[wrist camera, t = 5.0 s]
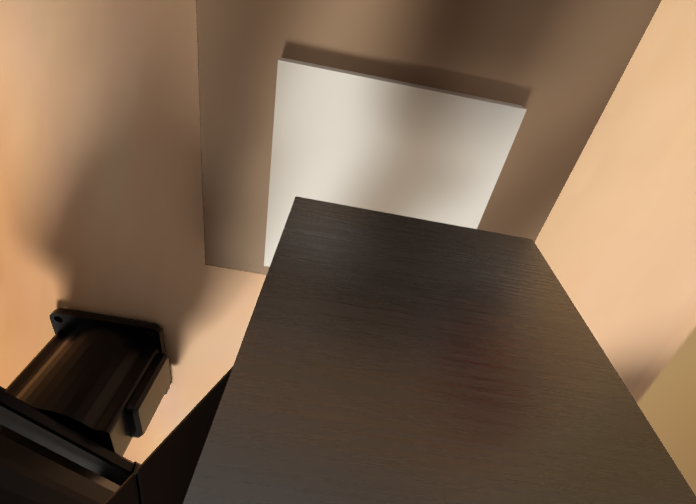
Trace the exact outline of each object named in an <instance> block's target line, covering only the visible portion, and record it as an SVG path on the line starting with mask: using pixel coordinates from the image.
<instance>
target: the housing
mask: <svg viewBox="0 0 696 504" xmlns="http://www.w3.org/2000/svg"><path fill="white" fill-rule="evenodd" d="M183 504H696V496H695V494H694V493H693V491H692V490H691V488H690V487H689V485H688V483H687V482H686V480H685V479H684V477H683V475H682V474H681V472H680V471H679V469H678V468H677V466H676V464H675V463H674V461H673V460H672V458H671V457H670V455H669V453H668V452H667V450H666V449H665V447H664V446H663V444H662V442H661V441H660V439H659V438H658V437H657V435H656V434H655V432H654V430H653V428H652V427H651V425H650V424H649V422H648V421H647V419H646V418H645V416H644V414H643V413H642V411H641V410H640V408H639V407H638V405H637V403H636V402H635V400H634V398H633V397H632V395H631V394H630V392H629V391H628V389H627V387H626V386H625V384H624V383H623V381H622V380H621V378H620V376H619V375H618V373H617V372H616V370H615V369H614V367H613V366H612V364H611V362H610V361H609V359H608V358H607V356H606V355H605V353H604V351H603V350H602V348H601V347H600V345H599V344H598V342H597V340H596V339H595V337H594V336H593V334H592V333H591V331H590V329H589V328H588V326H587V325H586V323H585V322H584V320H583V318H582V317H581V315H580V314H579V312H578V311H577V309H576V307H575V306H574V304H573V303H572V301H571V300H570V298H569V296H568V295H567V293H566V292H565V290H564V289H563V287H562V285H561V284H560V282H559V281H558V279H557V278H556V276H555V274H554V273H553V271H552V270H551V268H550V267H549V265H548V263H547V262H546V260H545V259H544V257H543V256H542V254H541V252H540V251H539V249H538V248H537V246H536V245H535V243H534V241H533V240H532V239H528V238H522V237H517V236H511V235H506V234H500V233H495V232H489V231H484V230H478V229H473V228H467V227H462V226H456V225H451V224H445V223H440V222H434V221H429V220H423V219H418V218H412V217H407V216H402V215H396V214H391V213H385V212H380V211H374V210H369V209H363V208H358V207H352V206H347V205H341V204H336V203H330V202H325V201H319V200H314V199H308V198H303V197H297V196H296V197H295V199H294V202H293V205H292V208H291V210H290V213H289V216H288V218H287V221H286V224H285V227H284V229H283V232H282V235H281V238H280V240H279V243H278V246H277V248H276V251H275V254H274V257H273V259H272V262H271V265H270V267H269V270H268V273H267V276H266V278H265V281H264V284H263V287H262V289H261V292H260V295H259V297H258V300H257V303H256V306H255V308H254V311H253V314H252V317H251V319H250V322H249V325H248V327H247V330H246V333H245V336H244V338H243V341H242V344H241V347H240V349H239V352H238V355H237V357H236V360H235V363H234V366H233V368H232V371H231V374H230V377H229V379H228V382H227V385H226V387H225V390H224V393H223V396H222V398H221V401H220V404H219V406H218V409H217V412H216V415H215V417H214V420H213V423H212V426H211V428H210V431H209V434H208V436H207V439H206V442H205V445H204V447H203V450H202V453H201V456H200V458H199V461H198V464H197V466H196V469H195V472H194V475H193V477H192V480H191V483H190V486H189V488H188V491H187V494H186V496H185V499H184V502H183Z"/></svg>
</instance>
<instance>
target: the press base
mask: <svg viewBox="0 0 696 504" xmlns="http://www.w3.org/2000/svg"><path fill="white" fill-rule="evenodd" d="M660 2H661V0H196V13H197V41H198V70H199V98H200V127H201V155H202V184H203V212H204V241H205V265H211V266H217V267H223V268H229V269H235V270H241V271H247V272H252V273H258V274H264V275H267V273H268V270H269V267H270V265H271V262H272V259H273V257H274V254H275V251H276V248H277V246H278V243H279V240H280V238H281V235H282V232H283V229H284V227H285V224H286V221H287V218H288V216H289V213H290V210H291V208H292V205H293V202H294V199H295V197H296V196H297V197H303V198H308V199H314V200H319V201H325V202H330V203H336V204H341V205H347V206H352V207H358V208H363V209H369V210H374V211H380V212H385V213H391V214H396V215H402V216H407V217H412V218H418V219H423V220H429V221H434V222H440V223H445V224H451V225H456V226H462V227H467V228H473V229H478V230H484V231H489V232H495V233H500V234H506V235H511V236H517V237H522V238H528V239H532V240H533V241H534V242H535V240H536V238H537V236H538V234H539V232H540V231H541V229H542V227H543V225H544V223H545V221H546V219H547V217H548V215H549V213H550V212H551V210H552V208H553V206H554V204H555V202H556V200H557V198H558V196H559V194H560V193H561V191H562V189H563V187H564V185H565V183H566V181H567V179H568V177H569V175H570V173H571V172H572V170H573V168H574V166H575V164H576V162H577V160H578V158H579V156H580V154H581V153H582V151H583V149H584V147H585V145H586V143H587V141H588V139H589V137H590V135H591V134H592V132H593V130H594V128H595V126H596V124H597V122H598V120H599V118H600V116H601V114H602V113H603V111H604V109H605V107H606V105H607V103H608V101H609V99H610V97H611V95H612V94H613V92H614V90H615V88H616V86H617V84H618V82H619V80H620V78H621V76H622V74H623V73H624V71H625V69H626V67H627V65H628V63H629V61H630V59H631V57H632V55H633V54H634V52H635V50H636V48H637V46H638V44H639V42H640V40H641V38H642V36H643V35H644V33H645V31H646V29H647V27H648V25H649V23H650V21H651V19H652V17H653V15H654V14H655V12H656V10H657V8H658V6H659V4H660Z"/></svg>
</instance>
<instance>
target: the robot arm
mask: <svg viewBox="0 0 696 504" xmlns="http://www.w3.org/2000/svg"><path fill="white" fill-rule="evenodd" d="M50 320H51V323H52V326H53V329H54V332H55V336H54V337H53V338H52V339H51V340H50V341H49V342H48V343H47V344H46V346H45V347H44V348H43V349H42V350H41V351H40V352H39V353H38V354H37V355H36V357H35V358H34V359H33V360H32V361H31V362H30V363H29V364H28V365H27V366H26V368H25V369H24V370H23V371H22V372H21V373H20V374H19V375H18V376H17V377H16V378H15V380H14V381H13V382H12V383H11V384H10V385H9V386H8V387H7V388H6V389H5V388H3V387H1V386H0V504H183V502H184V499H185V496H186V494H187V491H188V488H189V486H190V483H191V480H192V477H193V475H194V472H195V469H196V466H197V464H198V461H199V458H200V456H201V453H202V450H203V447H204V445H205V442H206V439H207V436H208V434H209V431H210V428H211V426H212V423H213V420H214V417H215V415H216V412H217V409H218V406H219V404H220V401H221V398H222V396H223V393H224V390H225V387H226V385H227V382H228V379H229V377H230V374H231V371H232V368H233V367H232V368H231V369H230V370H229V371H228V372H227V373H226V374H225V375H224V376H223V377H222V379H221V380H220V381H219V382H218V383H217V384H216V385H215V386H214V387H213V388H212V389H211V390H210V391H209V392H208V394H207V395H206V396H205V397H204V398H203V399H202V400H201V401H200V402H199V403H198V404H197V405H196V406H195V407H194V409H193V410H192V411H191V412H190V413H189V414H188V415H187V416H186V417H185V418H184V419H183V420H182V421H181V422H180V424H179V425H178V426H177V427H176V428H175V429H174V430H173V431H172V432H171V433H170V434H169V435H168V436H167V437H166V439H165V440H164V441H163V442H162V443H161V444H160V445H159V446H158V447H157V448H156V449H155V450H154V451H153V452H152V453H151V455H150V456H149V457H148V458H147V459H146V460H145V461H144V462H143V463H142V464H139V463H137V462H134V463H133V462H132V461H130V460H128V459H126V458H124V457H123V454H124V453H125V451H126V449H127V447H128V445H129V443H130V441H131V439H132V438H133V437H137V438H139V437H140V436H142V435H143V434H144V433H145V431H146V429H147V427H148V425H149V423H150V421H151V419H152V417H153V415H154V413H155V411H156V409H157V407H158V406H159V404H160V402H161V400H162V398H163V396H164V395H165V394H166V393H167V392H168V390H169V388H170V385H169V384H170V382H171V375H170V366H169V358H168V356H167V354H166V353H165V345H164V337H163V330H162V328H161V327H160V326H159V325H157V324H153V323H147V322H141V321H135V320H128V319H122V318H116V317H110V316H104V315H97V314H91V313H85V312H79V311H72V310H66V309H55V310H54V311H53V312H52V313H51V315H50Z"/></svg>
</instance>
